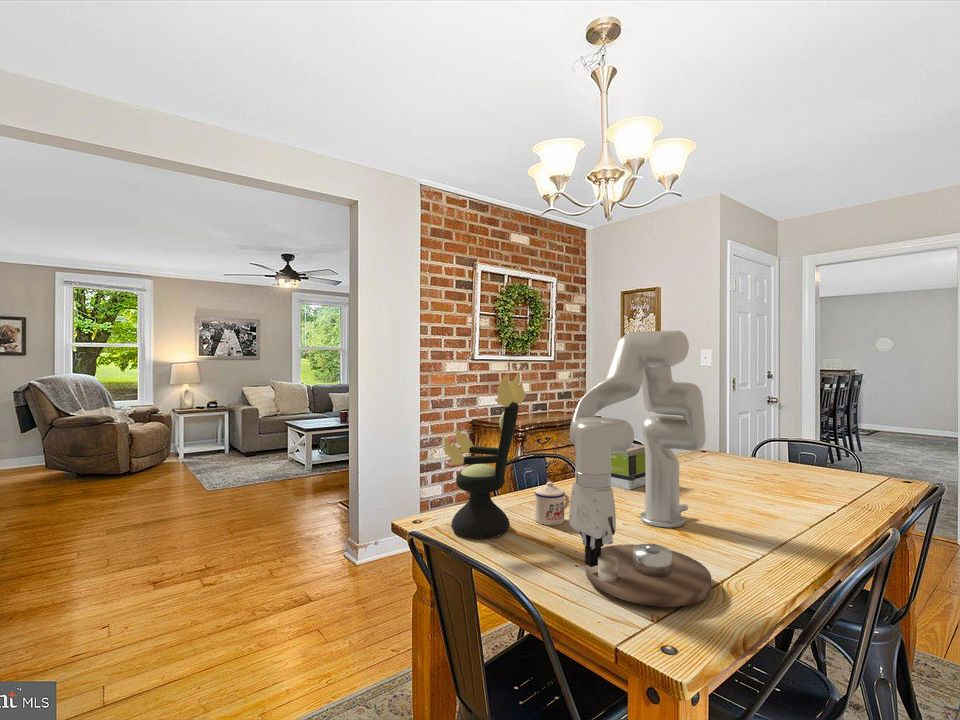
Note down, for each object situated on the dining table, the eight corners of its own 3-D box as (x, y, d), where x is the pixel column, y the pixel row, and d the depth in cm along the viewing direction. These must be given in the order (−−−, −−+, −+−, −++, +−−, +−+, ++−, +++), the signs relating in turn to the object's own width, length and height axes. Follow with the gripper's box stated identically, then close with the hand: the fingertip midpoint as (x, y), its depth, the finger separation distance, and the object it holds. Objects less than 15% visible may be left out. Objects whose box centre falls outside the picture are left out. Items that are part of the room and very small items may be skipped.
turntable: (644, 545, 125) (644, 521, 125) (739, 587, 102) (739, 559, 102) (561, 566, 113) (561, 540, 113) (648, 619, 90) (648, 587, 90)
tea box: (629, 478, 197) (628, 442, 197) (651, 483, 189) (651, 445, 189) (606, 485, 187) (606, 446, 187) (629, 490, 180) (629, 450, 179)
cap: (641, 558, 112) (641, 536, 112) (677, 568, 107) (677, 545, 107) (627, 570, 106) (626, 547, 106) (664, 581, 101) (664, 556, 101)
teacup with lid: (547, 528, 141) (547, 488, 141) (528, 519, 149) (528, 481, 149) (578, 520, 147) (578, 482, 147) (558, 512, 155) (558, 475, 155)
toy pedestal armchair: (454, 517, 151) (453, 371, 151) (526, 519, 149) (526, 371, 148) (443, 540, 132) (443, 373, 132) (526, 543, 130) (525, 373, 129)
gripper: (557, 474, 110) (557, 556, 110) (605, 489, 97) (605, 582, 97) (582, 470, 114) (582, 549, 114) (632, 485, 101) (631, 573, 101)
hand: (592, 564), depth 106 cm, fingers closed
